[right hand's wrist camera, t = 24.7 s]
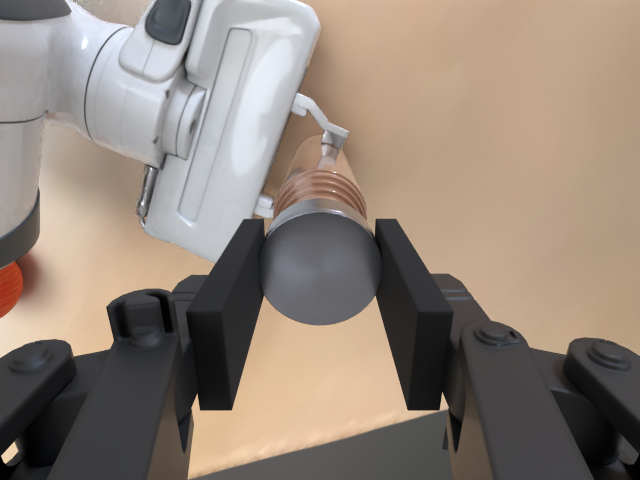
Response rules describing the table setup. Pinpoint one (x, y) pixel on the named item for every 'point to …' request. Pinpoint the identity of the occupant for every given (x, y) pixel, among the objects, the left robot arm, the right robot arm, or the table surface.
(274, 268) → the cap
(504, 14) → the table surface
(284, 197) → the wooden furniture leg
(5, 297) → the apple
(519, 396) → the right robot arm
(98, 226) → the table surface
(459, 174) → the table surface
